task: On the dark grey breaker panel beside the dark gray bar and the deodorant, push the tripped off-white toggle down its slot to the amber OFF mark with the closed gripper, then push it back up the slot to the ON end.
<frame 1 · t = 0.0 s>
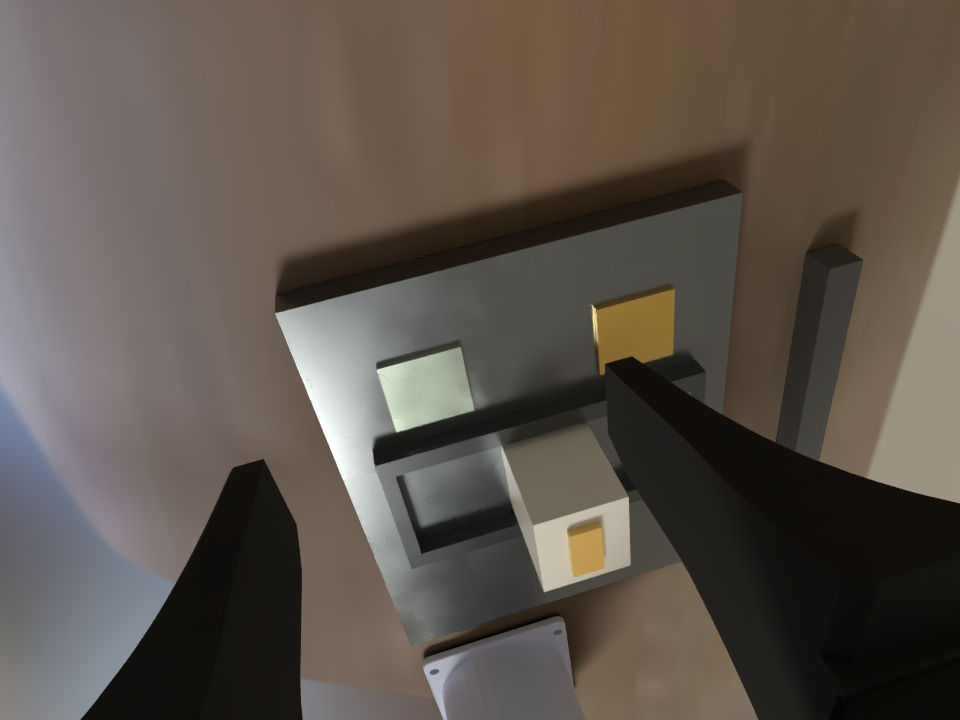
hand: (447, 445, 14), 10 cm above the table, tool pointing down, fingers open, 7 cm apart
panel: (537, 442, 29), on the table
toggle: (565, 504, 26), point 4 cm above the table, slide at 4.0 cm
dark gray bar: (796, 399, 31), on the table
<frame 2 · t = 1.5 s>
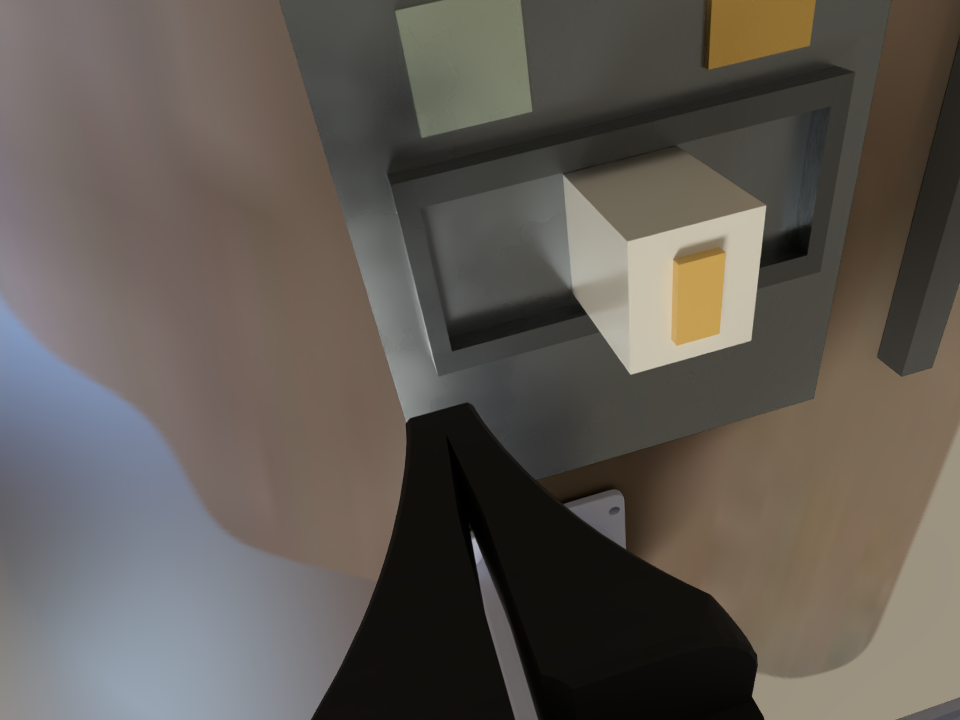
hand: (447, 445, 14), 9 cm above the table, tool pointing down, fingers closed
panel: (607, 208, 21), on the table
toggle: (657, 258, 19), point 4 cm above the table, slide at 4.0 cm
dark gray bar: (941, 175, 24), on the table
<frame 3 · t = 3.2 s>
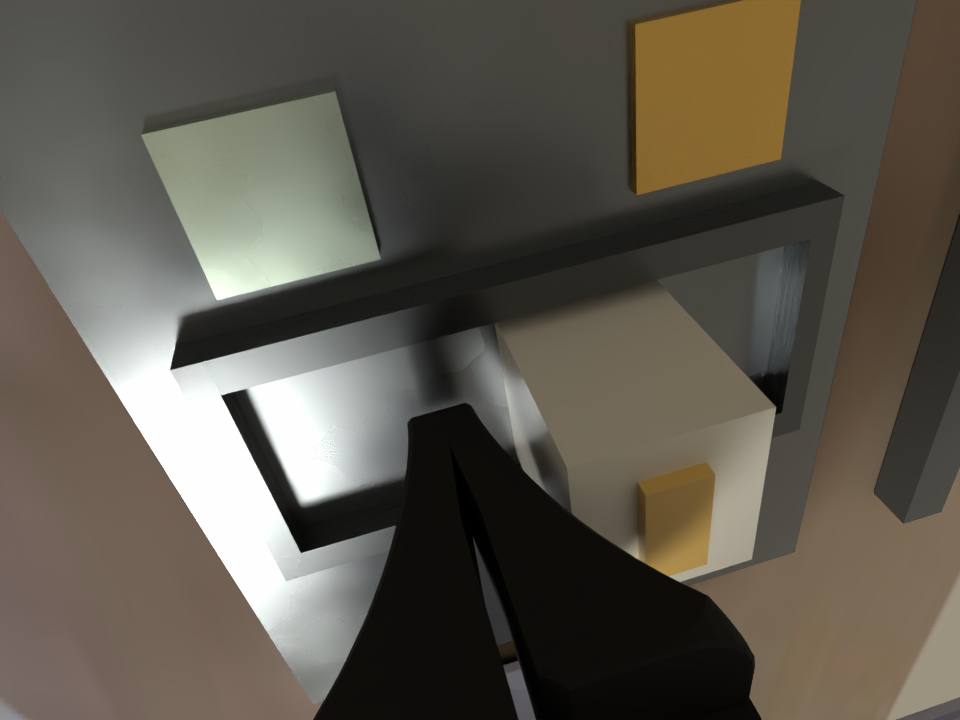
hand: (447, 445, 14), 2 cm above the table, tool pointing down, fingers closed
panel: (515, 353, 16), on the table
toggle: (621, 439, 13), point 4 cm above the table, slide at 2.8 cm, touching gripper
dark gray bar: (956, 293, 19), on the table
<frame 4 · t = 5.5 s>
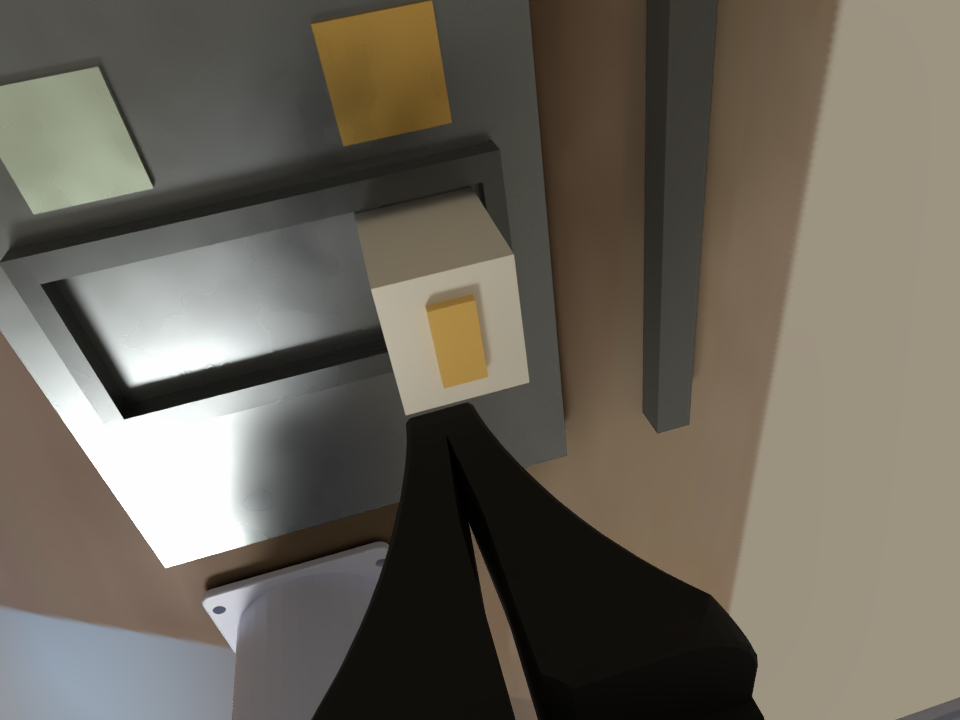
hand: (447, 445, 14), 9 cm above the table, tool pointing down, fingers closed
panel: (294, 274, 21), on the table
toggle: (440, 299, 19), point 4 cm above the table, slide at 0.0 cm
dark gray bar: (662, 239, 24), on the table
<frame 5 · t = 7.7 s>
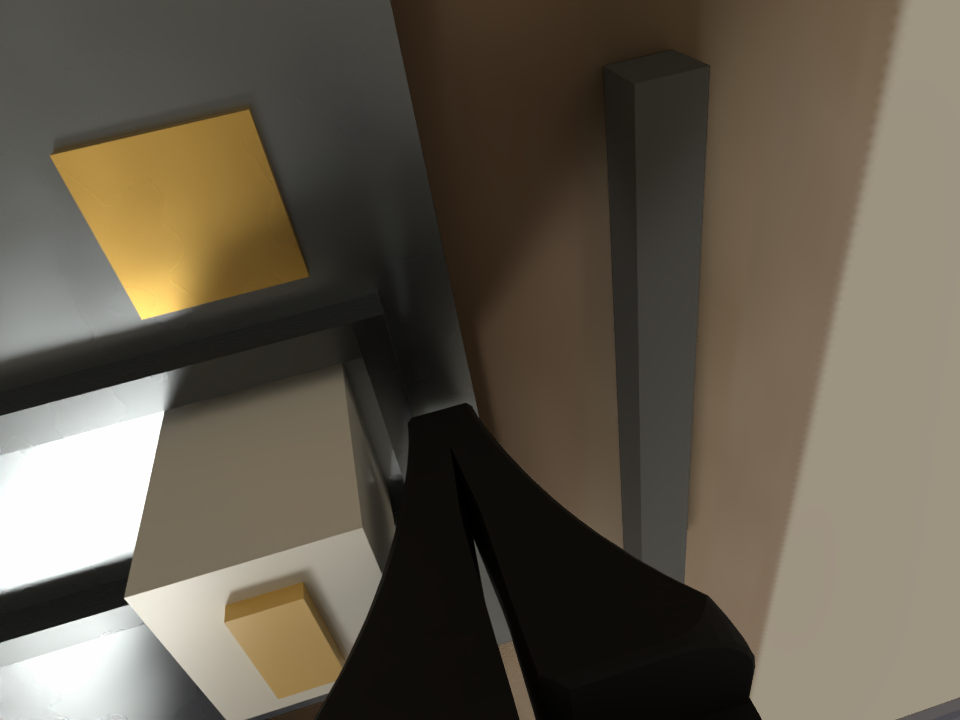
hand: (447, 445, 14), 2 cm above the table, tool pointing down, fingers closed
panel: (121, 461, 15), on the table
toggle: (288, 536, 13), point 4 cm above the table, slide at 0.2 cm, touching gripper
dark gray bar: (642, 380, 18), on the table
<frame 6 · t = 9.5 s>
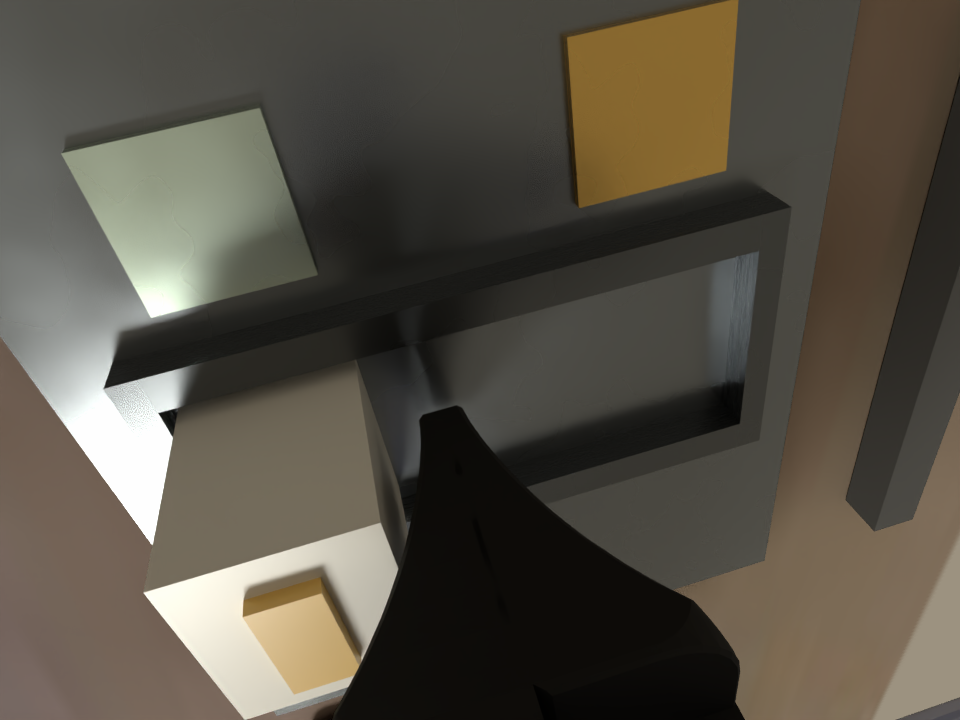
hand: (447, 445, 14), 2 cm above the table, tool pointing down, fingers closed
panel: (469, 365, 16), on the table
toggle: (302, 532, 13), point 4 cm above the table, slide at 8.1 cm, touching gripper
dark gray bar: (920, 301, 18), on the table
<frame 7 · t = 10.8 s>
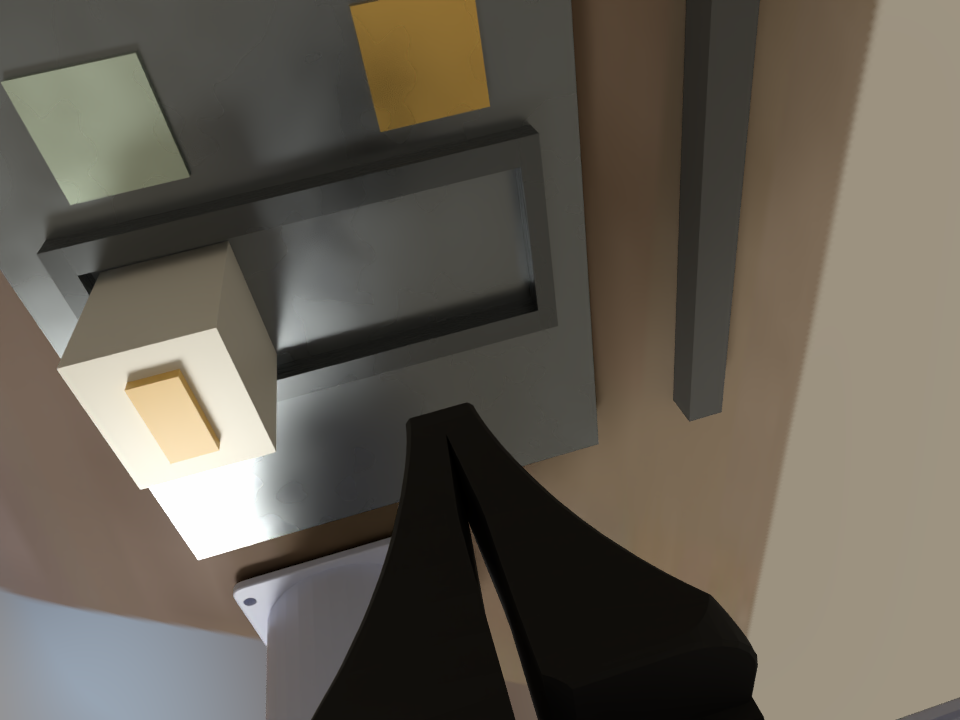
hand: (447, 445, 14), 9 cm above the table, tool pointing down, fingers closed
panel: (328, 263, 21), on the table
toggle: (185, 363, 18), point 4 cm above the table, slide at 8.0 cm
dark gray bar: (697, 224, 23), on the table
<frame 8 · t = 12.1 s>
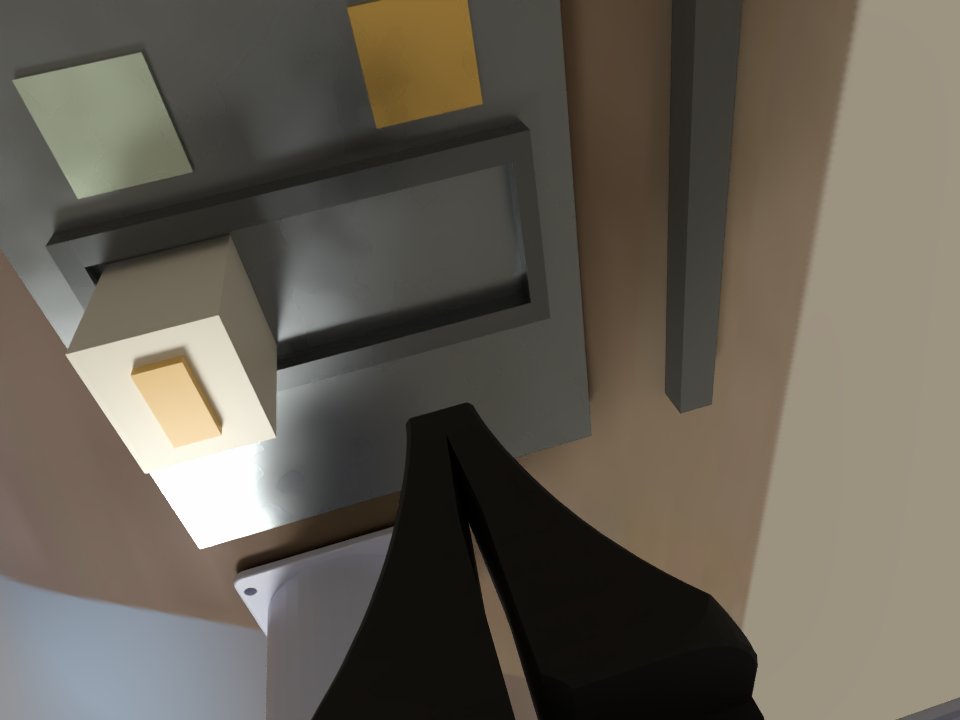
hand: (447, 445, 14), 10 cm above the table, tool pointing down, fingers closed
panel: (326, 257, 22), on the table
toggle: (188, 352, 18), point 4 cm above the table, slide at 8.0 cm
dark gray bar: (686, 219, 24), on the table
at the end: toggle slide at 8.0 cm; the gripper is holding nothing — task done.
